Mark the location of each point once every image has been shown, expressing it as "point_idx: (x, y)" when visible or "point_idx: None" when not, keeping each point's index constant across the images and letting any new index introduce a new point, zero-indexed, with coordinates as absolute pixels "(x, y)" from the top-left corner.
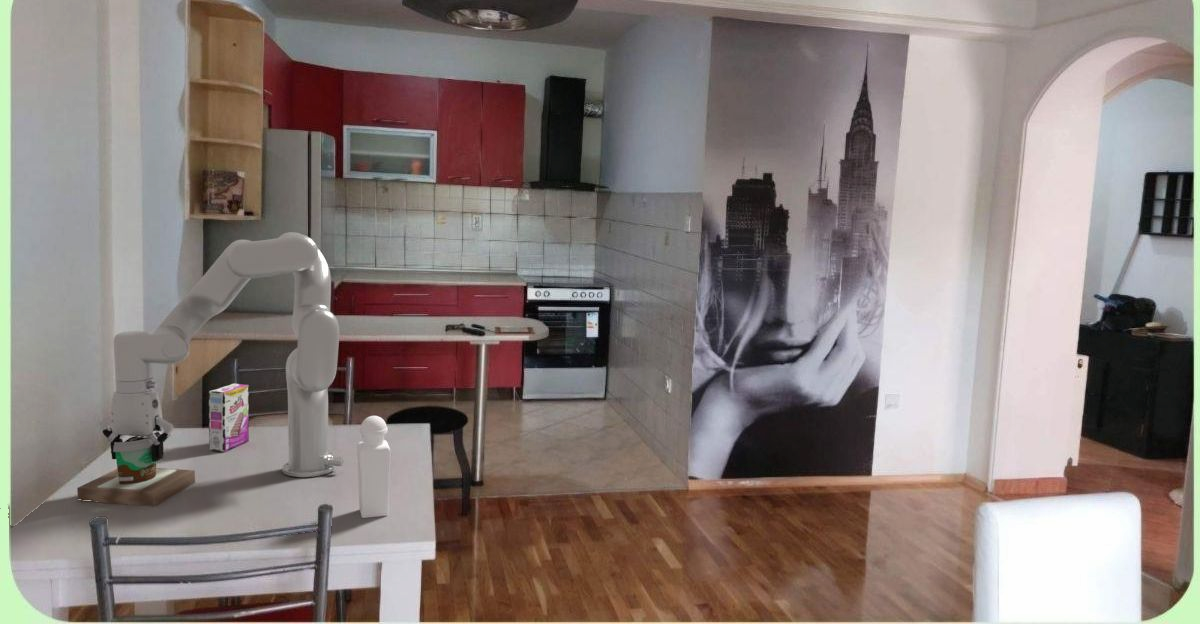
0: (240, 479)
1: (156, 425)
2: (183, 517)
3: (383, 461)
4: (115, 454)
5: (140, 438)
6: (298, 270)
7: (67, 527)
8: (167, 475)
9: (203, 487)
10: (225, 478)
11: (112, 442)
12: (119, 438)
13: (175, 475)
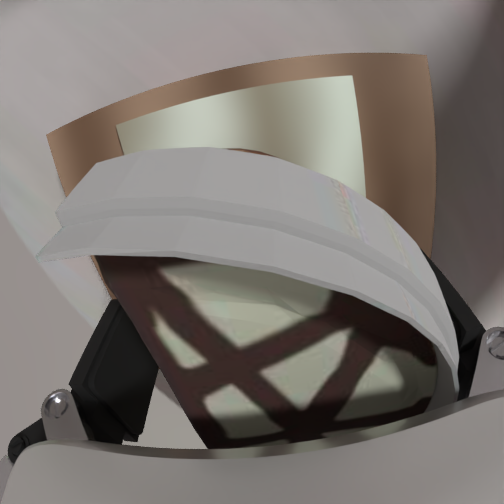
0: (495, 16)
1: (501, 479)
2: (482, 315)
3: None
4: (155, 372)
5: (295, 425)
6: None
7: None
8: (361, 156)
9: (454, 106)
10: (456, 5)
11: (128, 439)
12: (97, 416)
13: (396, 145)
